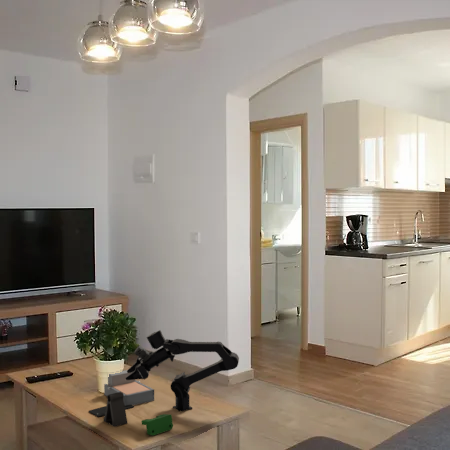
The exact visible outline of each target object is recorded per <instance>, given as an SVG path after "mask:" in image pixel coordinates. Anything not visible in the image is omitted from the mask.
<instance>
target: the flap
mask: <svg viewBox="0 0 450 450" xmlns="http://www.w3.org/2000/svg"><path fill="white" fill-rule="evenodd" d="M127 370H128V369H125V370H121V371H122V372H120V373H115V374H109V377H108V376H107V384H108V385H109V386H111V387H113V388H115V389H117V390H118V391H120V392H122V393H124V394H126V395H128V394H133V393H138V392H142V391H147V390H150V389H148V388H146V387H144V386H142V385H140V384H138V383H136V382H135V380H136V379H134V380H126V377H127V376H129V375H130V374H131V373H132V372H131V373H128V372H127Z"/></svg>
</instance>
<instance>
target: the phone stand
mask: <svg viewBox="0 0 450 450" xmlns="http://www.w3.org/2000/svg"><path fill="white" fill-rule="evenodd" d="M123 397H124V396H123V393H122V392H118V393H114V394H110V395H108V396H106V398H107V399H106V405H105V406H106V410H105V415H104V416H103V422H104V423H106V424H108V425H110V426H112V427H114V428H117V427H120V426H122V425H126V424H128V417H127V413H126V410H125V406H124V400H123Z"/></svg>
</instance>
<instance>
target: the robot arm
mask: <svg viewBox="0 0 450 450" xmlns="http://www.w3.org/2000/svg"><path fill="white" fill-rule="evenodd" d="M146 340H147V341H148V343H149V345H150V347H151V348H152V349H154V350H155V351H148V350H147V349H146V348H144V347H143V346H142V345H140V344H139V345H138V346H137V348H136V349H135V350H134V354H135V355H136V356H137V358H136V361H135V362H134V363H133V364H132V365H131V366H130V367H129V368H128V369H126V370H127V372H128V373H131V372H132V373H131V374H130V375H129V376H127V377H126V380H134V379H135V380H146V379H148V378H149V376H150V375H149V374H150V371H152V369H154V368H155V367H156V368H158V367H159V366H160V364H162V363H163V362H166V361H167V360H169V361H170V362H171V363H172V362H174V358H175V357H176V356H177V355H178V356H179V355H183V354H187V353H216V354H217V355H218V356H219V357H220V359H219V360H218V361H217V362H214V363H212V364H209V365H207V366H205V367H203V368H200V369H198V370H196V371H194V372H192V373H189V374H186V373H185V371H183V372H182V373H180V374H176V375H175V377H174V378H173V380H172V382H171V383H170V390H171V391H172V392H173V394H174V396H175V405H173V406H172V409H175V410H176V411H178V412H185V411H189V410H193V407H192V406H191V405H190V390H191V385H192V384H195V383H196V382H199V381H202V380H204V379H207V378H208V377H211V376H213V375H215V374H218V373H219V372H224V371H225V372H227V371H231V370H234V369H236V368H237V367H238V365H239V362H240V357H239V355H238V354H237V353H236V352H232V350H231V349H229V348H228V347H227V346H225V345H224V344H223V342H221V341H189V340H186V339H180V338H174V339H168V338H165V337H164V335H163V333H162V331H161V329H159V330H157V331H153V332H152V333H151V334H149V335H147V336H146Z"/></svg>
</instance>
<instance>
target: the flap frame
mask: <svg viewBox="0 0 450 450" xmlns="http://www.w3.org/2000/svg"><path fill="white" fill-rule="evenodd" d="M135 382H136V383H138V384H140V385H142V386H144V387H146V388H148V389H150V390H147V391H142V392H138V393H133V394H128V395H126V394H124V393H123V396H124V397H123V400H124V405H125V406H127V405H133V406H136V405H141V404H146V403H149V402H153V401H155V389H154V388H152V387H150V386H148V385H146V384H144V383H141V380H137V379H135ZM103 385H104V386H103V387H104V389H103V391H104V392H103V393H104V394H103V395H104V396H106V397H107V396H108V395H110V394H114V393H118V392H120V391H118V390H117V389H115V388H113V387H111V386H109V385H108V383H104V384H103Z"/></svg>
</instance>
